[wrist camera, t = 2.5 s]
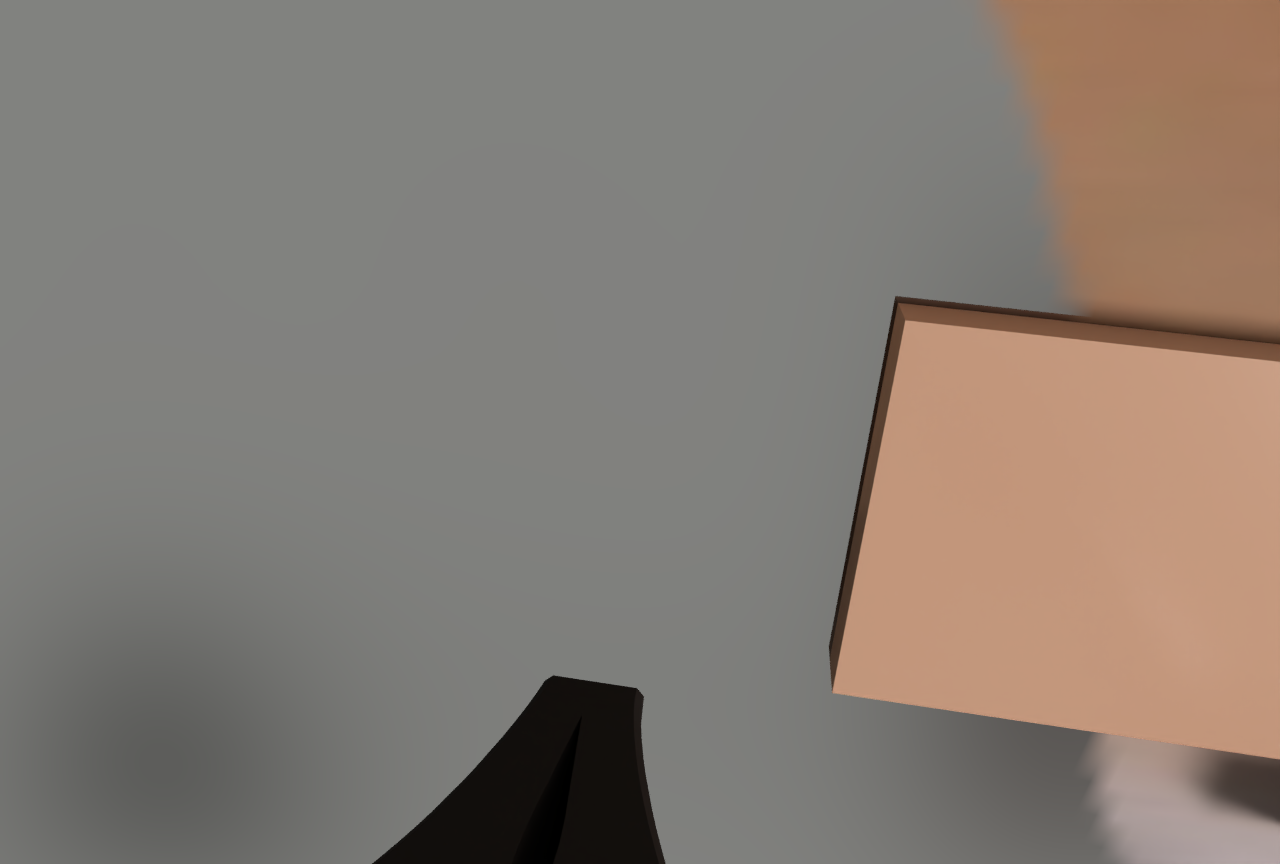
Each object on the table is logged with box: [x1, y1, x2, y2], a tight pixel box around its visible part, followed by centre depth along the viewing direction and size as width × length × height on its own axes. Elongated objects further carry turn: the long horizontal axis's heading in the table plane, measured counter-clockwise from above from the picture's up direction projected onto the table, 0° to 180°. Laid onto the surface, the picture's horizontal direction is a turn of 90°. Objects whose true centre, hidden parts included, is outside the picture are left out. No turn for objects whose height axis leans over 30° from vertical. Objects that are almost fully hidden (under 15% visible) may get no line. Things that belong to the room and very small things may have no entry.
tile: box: [829, 296, 1280, 759], centre depth 20 cm, size 9×12×2 cm
